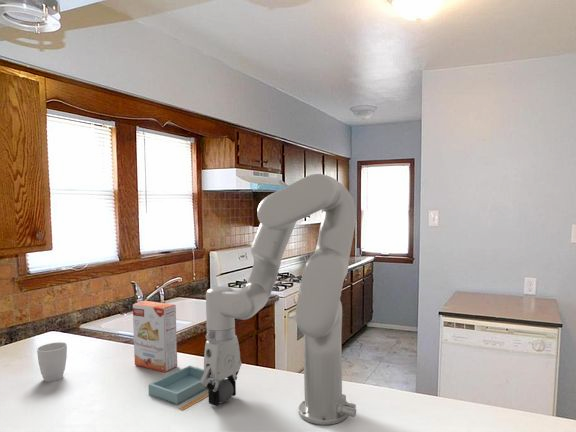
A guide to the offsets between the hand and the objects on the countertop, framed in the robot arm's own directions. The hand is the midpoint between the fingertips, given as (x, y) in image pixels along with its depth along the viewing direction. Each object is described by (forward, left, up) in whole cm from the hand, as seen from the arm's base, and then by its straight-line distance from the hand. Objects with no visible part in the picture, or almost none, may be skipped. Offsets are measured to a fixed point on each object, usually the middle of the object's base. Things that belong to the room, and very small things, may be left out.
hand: (222, 398), depth 113 cm
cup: (+56, +16, -1) cm, 58 cm away
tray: (+13, 0, -1) cm, 13 cm away
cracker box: (+36, -7, -1) cm, 37 cm away
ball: (0, 0, -1) cm, 1 cm away
